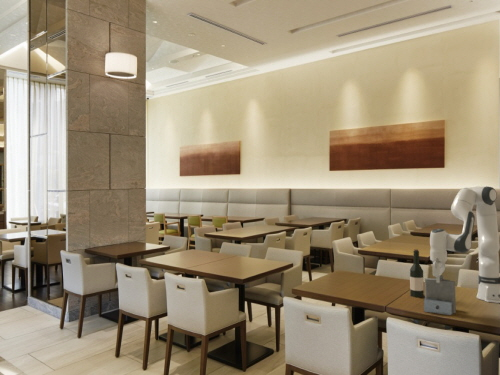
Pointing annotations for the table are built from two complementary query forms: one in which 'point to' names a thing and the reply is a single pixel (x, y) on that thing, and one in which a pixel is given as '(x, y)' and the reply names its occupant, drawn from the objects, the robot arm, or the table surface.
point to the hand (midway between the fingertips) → (438, 281)
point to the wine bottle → (416, 277)
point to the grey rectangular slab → (441, 290)
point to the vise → (438, 306)
